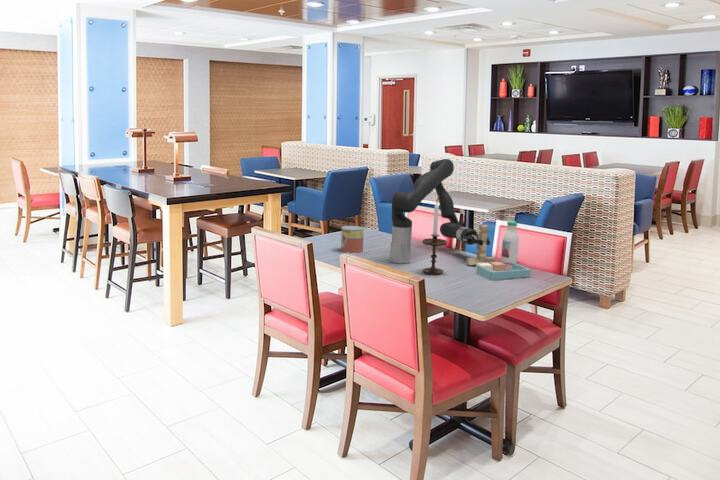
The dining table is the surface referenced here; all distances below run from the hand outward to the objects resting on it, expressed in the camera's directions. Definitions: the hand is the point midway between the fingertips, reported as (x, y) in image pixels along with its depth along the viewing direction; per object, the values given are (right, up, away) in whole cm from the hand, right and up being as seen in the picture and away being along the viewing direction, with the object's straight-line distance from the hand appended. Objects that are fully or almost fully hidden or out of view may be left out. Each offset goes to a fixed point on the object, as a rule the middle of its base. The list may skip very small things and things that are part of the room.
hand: (485, 243), depth 300 cm
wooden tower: (-1, -10, +5) cm, 11 cm away
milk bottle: (+14, -9, +13) cm, 21 cm away
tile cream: (-2, -13, -4) cm, 13 cm away
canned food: (-63, -4, +25) cm, 68 cm away
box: (+5, -14, -12) cm, 19 cm away
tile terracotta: (+5, -12, -1) cm, 13 cm away
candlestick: (-26, -13, -11) cm, 31 cm away
